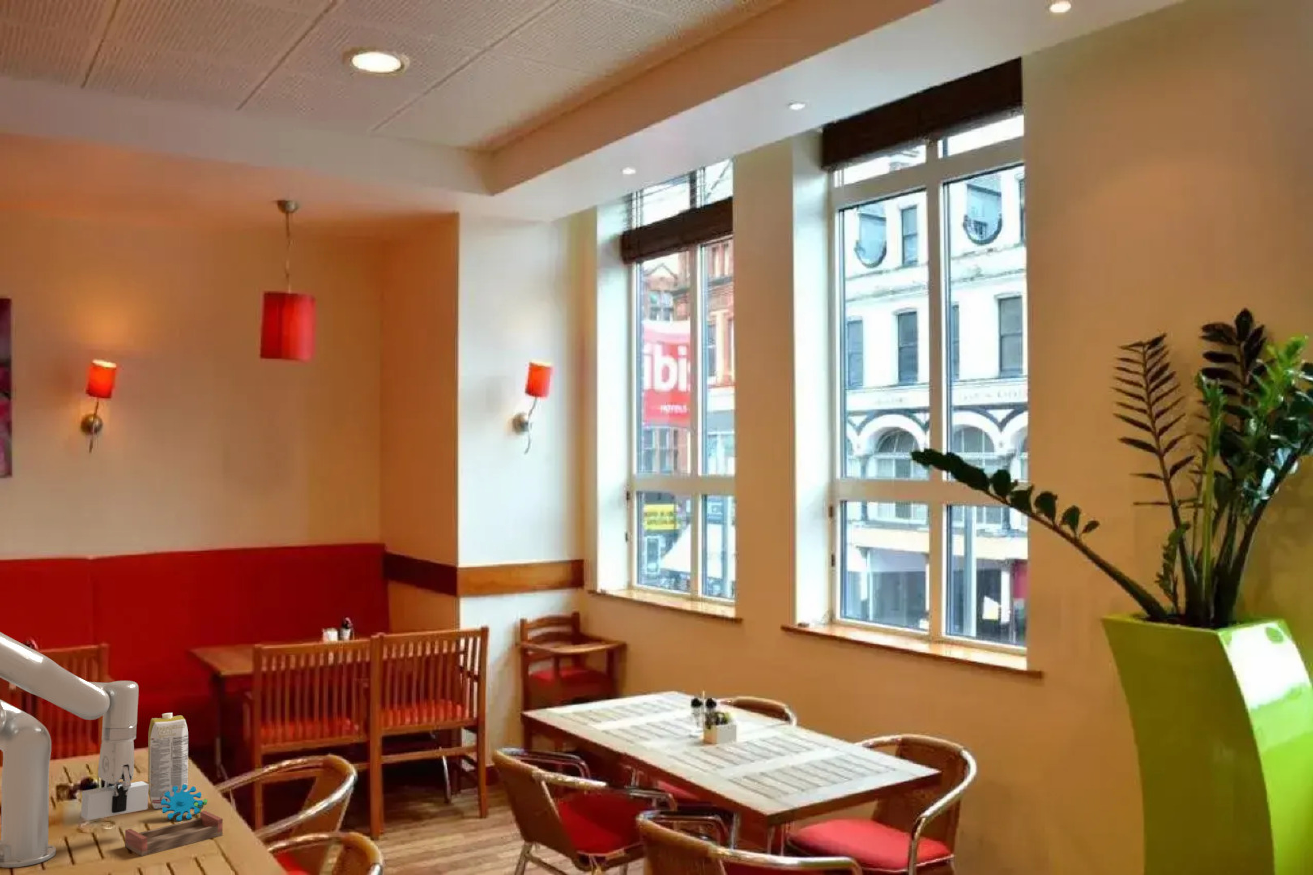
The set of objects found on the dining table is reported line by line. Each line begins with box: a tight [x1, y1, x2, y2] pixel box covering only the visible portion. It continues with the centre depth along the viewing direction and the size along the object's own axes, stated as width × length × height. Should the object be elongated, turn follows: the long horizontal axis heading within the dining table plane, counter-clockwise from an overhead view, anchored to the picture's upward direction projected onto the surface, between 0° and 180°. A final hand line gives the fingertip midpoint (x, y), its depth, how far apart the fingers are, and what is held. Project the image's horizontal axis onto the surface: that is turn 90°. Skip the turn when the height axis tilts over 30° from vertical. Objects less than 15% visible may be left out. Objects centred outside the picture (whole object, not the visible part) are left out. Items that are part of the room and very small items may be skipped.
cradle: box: [124, 810, 224, 857], centre depth 267 cm, size 19×9×4 cm, turn 138°
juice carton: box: [147, 712, 189, 810], centre depth 295 cm, size 9×8×24 cm
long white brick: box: [80, 780, 149, 821], centre depth 267 cm, size 14×4×6 cm, turn 138°
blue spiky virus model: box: [161, 784, 208, 822], centre depth 286 cm, size 11×6×10 cm
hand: (114, 808), depth 267 cm, fingers closed on long white brick, 4 cm apart
